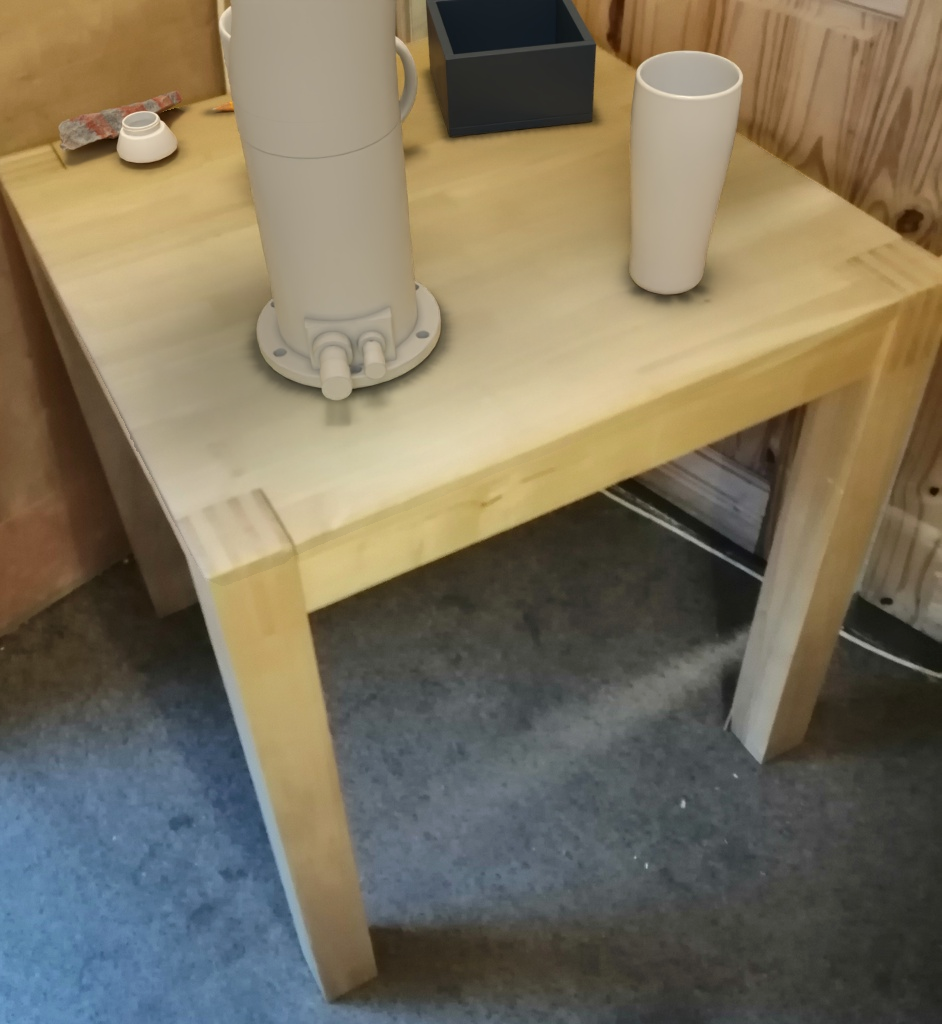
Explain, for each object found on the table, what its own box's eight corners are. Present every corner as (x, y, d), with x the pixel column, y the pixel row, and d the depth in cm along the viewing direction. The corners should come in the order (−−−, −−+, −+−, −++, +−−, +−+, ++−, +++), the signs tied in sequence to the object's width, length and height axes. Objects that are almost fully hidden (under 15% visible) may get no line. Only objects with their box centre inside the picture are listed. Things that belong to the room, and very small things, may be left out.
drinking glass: (732, 283, 77) (768, 78, 66) (657, 316, 74) (681, 108, 63) (672, 240, 81) (696, 39, 70) (599, 269, 78) (612, 67, 67)
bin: (592, 121, 94) (596, 43, 89) (449, 137, 93) (445, 59, 88) (561, 59, 102) (563, -16, 97) (430, 73, 101) (425, -2, 96)
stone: (165, 89, 98) (189, 84, 95) (174, 117, 99) (199, 113, 96) (39, 126, 92) (60, 121, 88) (50, 155, 93) (72, 152, 89)
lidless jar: (185, 158, 91) (170, 132, 94) (176, 125, 89) (162, 100, 92) (126, 172, 90) (114, 146, 93) (117, 139, 88) (104, 113, 91)
